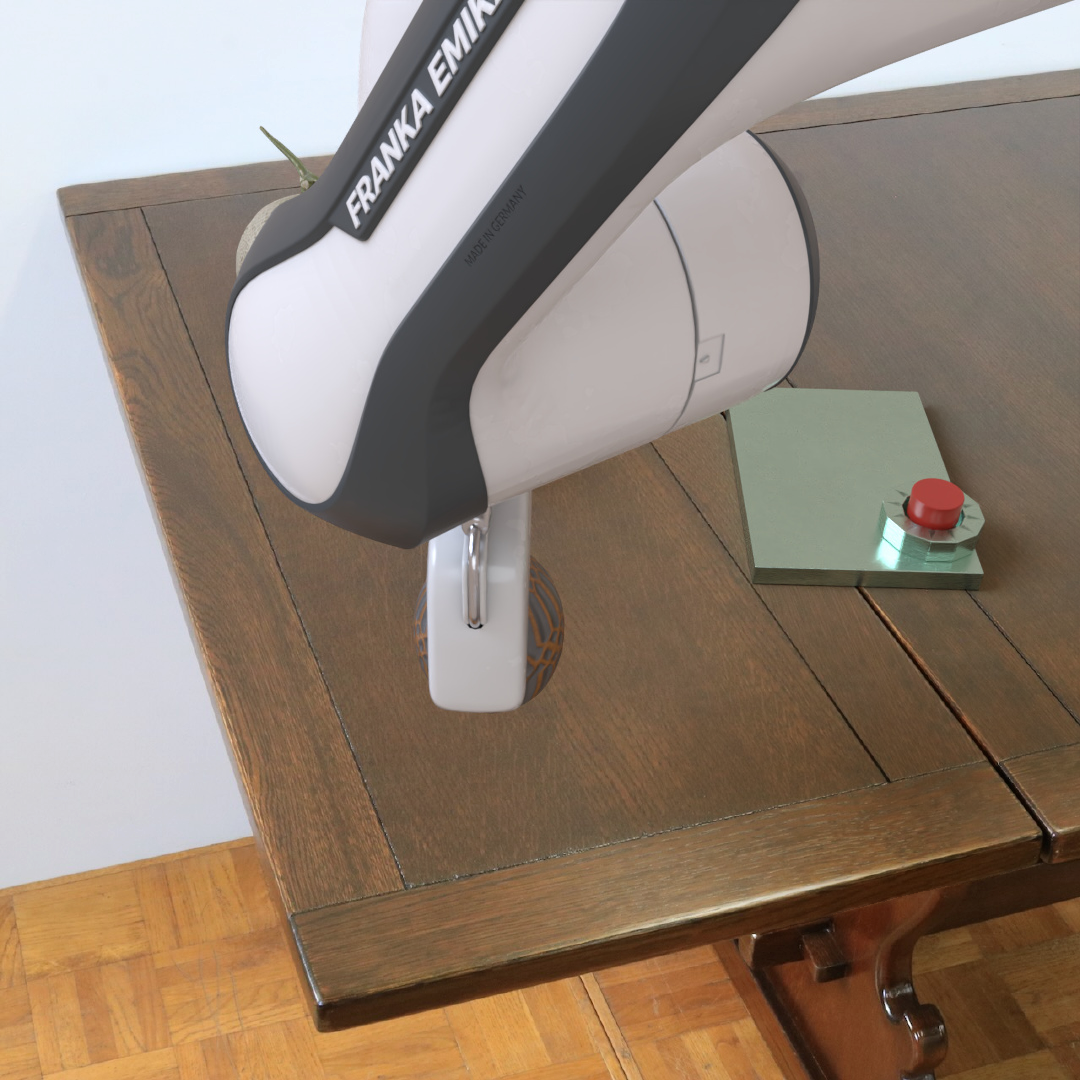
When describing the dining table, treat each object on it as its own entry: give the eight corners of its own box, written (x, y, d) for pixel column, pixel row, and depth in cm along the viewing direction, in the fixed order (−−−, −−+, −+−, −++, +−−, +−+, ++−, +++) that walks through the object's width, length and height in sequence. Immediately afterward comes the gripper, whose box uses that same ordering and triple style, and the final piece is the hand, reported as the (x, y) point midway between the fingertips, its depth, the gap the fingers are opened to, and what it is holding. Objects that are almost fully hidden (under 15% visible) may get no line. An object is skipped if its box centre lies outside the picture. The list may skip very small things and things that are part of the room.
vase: (432, 626, 66) (425, 485, 60) (570, 641, 65) (576, 499, 60) (402, 728, 61) (392, 583, 55) (552, 745, 60) (556, 600, 54)
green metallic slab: (986, 590, 82) (998, 553, 80) (752, 583, 82) (758, 546, 80) (920, 407, 97) (928, 372, 95) (723, 401, 97) (727, 366, 95)
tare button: (963, 532, 82) (970, 510, 81) (911, 530, 82) (917, 508, 81) (952, 500, 84) (958, 478, 83) (902, 498, 84) (907, 476, 83)
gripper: (567, 545, 44) (556, 813, 53) (566, 259, 60) (558, 501, 69) (377, 541, 44) (398, 809, 53) (427, 256, 60) (437, 498, 69)
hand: (489, 633), depth 61 cm, fingers closed on vase, 7 cm apart
